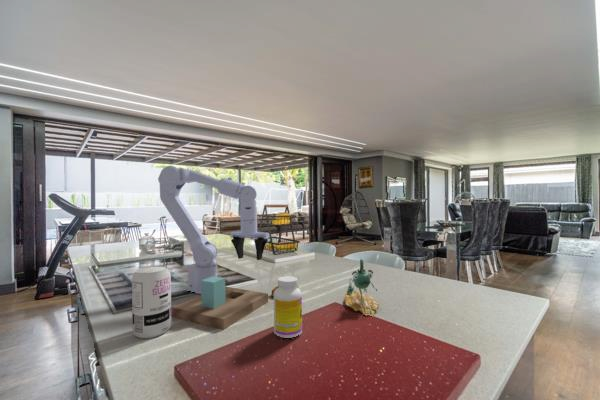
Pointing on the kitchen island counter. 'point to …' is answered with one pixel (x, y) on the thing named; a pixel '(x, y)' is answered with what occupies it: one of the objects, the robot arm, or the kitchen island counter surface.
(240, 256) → the robot arm
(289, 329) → the supplement bottle
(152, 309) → the supplement can
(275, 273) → the kitchen island counter surface
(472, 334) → the kitchen island counter surface
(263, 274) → the kitchen island counter surface
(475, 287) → the kitchen island counter surface
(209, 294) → the teal block
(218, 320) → the walnut pocket plate
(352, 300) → the frog figurine
